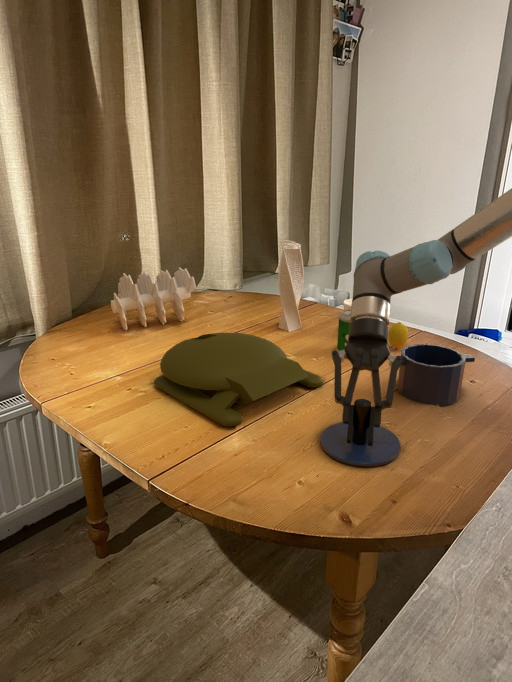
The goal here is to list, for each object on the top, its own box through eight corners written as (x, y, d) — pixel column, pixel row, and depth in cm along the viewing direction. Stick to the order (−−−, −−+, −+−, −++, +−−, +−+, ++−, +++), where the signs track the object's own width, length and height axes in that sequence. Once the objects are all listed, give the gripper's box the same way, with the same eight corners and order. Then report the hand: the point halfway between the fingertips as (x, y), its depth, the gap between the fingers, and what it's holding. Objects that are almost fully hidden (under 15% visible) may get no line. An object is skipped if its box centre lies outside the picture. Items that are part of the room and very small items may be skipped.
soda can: (334, 357, 135) (336, 315, 131) (339, 347, 142) (341, 307, 138) (362, 360, 133) (365, 318, 129) (365, 350, 140) (369, 309, 136)
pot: (482, 404, 110) (489, 364, 107) (399, 409, 108) (403, 369, 105) (452, 378, 123) (458, 342, 119) (378, 382, 121) (381, 345, 117)
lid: (412, 466, 87) (418, 420, 84) (331, 472, 86) (333, 425, 83) (383, 424, 101) (387, 382, 98) (312, 428, 99) (314, 387, 96)
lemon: (404, 354, 137) (407, 326, 135) (384, 350, 140) (386, 323, 137) (409, 347, 142) (412, 320, 139) (389, 344, 144) (392, 317, 142)
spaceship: (327, 385, 119) (329, 347, 115) (228, 433, 99) (227, 388, 96) (232, 346, 143) (231, 314, 139) (137, 378, 123) (133, 341, 120)
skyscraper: (288, 334, 153) (290, 242, 143) (272, 327, 158) (273, 238, 148) (306, 328, 157) (310, 239, 147) (290, 322, 163) (292, 236, 153)
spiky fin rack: (115, 338, 161) (187, 322, 172) (125, 331, 145) (203, 313, 156) (100, 283, 161) (173, 271, 172) (109, 270, 145) (189, 257, 156)
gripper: (409, 336, 99) (404, 453, 90) (328, 330, 103) (315, 442, 94) (413, 318, 93) (408, 443, 84) (327, 313, 96) (313, 432, 87)
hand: (359, 442), depth 89 cm, fingers closed on lid, 3 cm apart
